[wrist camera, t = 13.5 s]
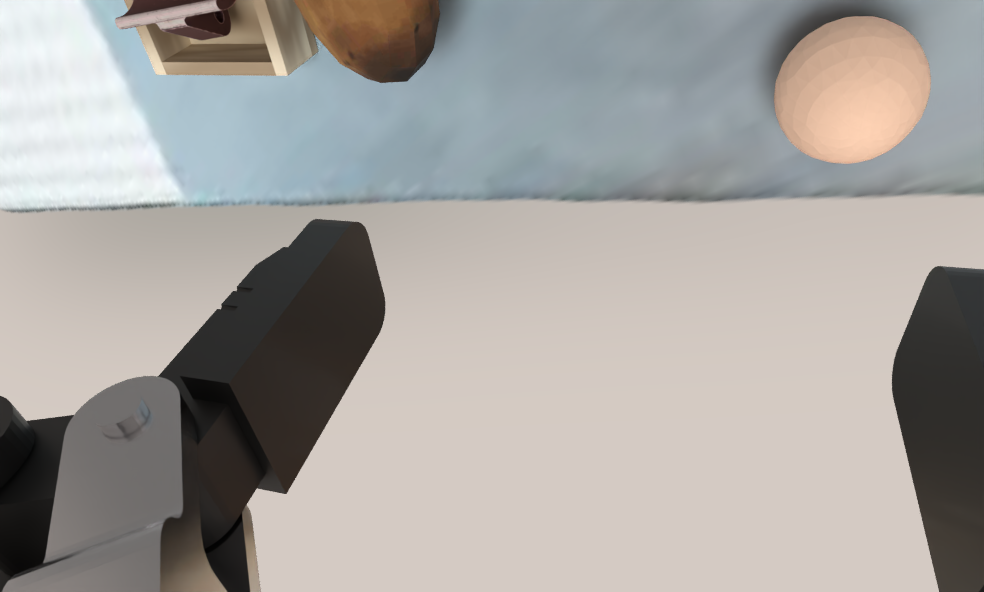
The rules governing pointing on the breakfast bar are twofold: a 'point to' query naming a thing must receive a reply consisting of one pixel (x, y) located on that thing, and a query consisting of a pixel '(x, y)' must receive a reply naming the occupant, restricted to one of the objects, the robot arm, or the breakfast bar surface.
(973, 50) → the breakfast bar surface
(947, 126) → the breakfast bar surface
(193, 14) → the bracket
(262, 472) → the robot arm
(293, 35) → the wooden tray
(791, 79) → the egg
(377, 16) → the potato
